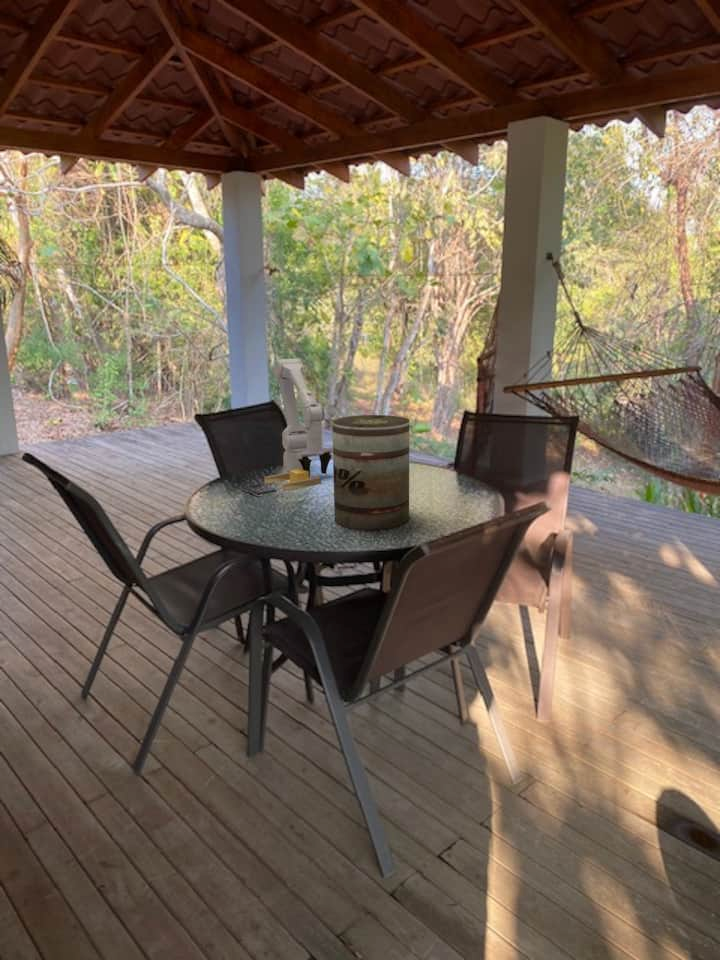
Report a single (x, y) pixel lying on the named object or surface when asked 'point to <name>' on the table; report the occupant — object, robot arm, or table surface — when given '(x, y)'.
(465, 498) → the table surface
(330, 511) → the table surface
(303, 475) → the block
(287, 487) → the channel
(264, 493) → the pit tray
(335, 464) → the barrel
